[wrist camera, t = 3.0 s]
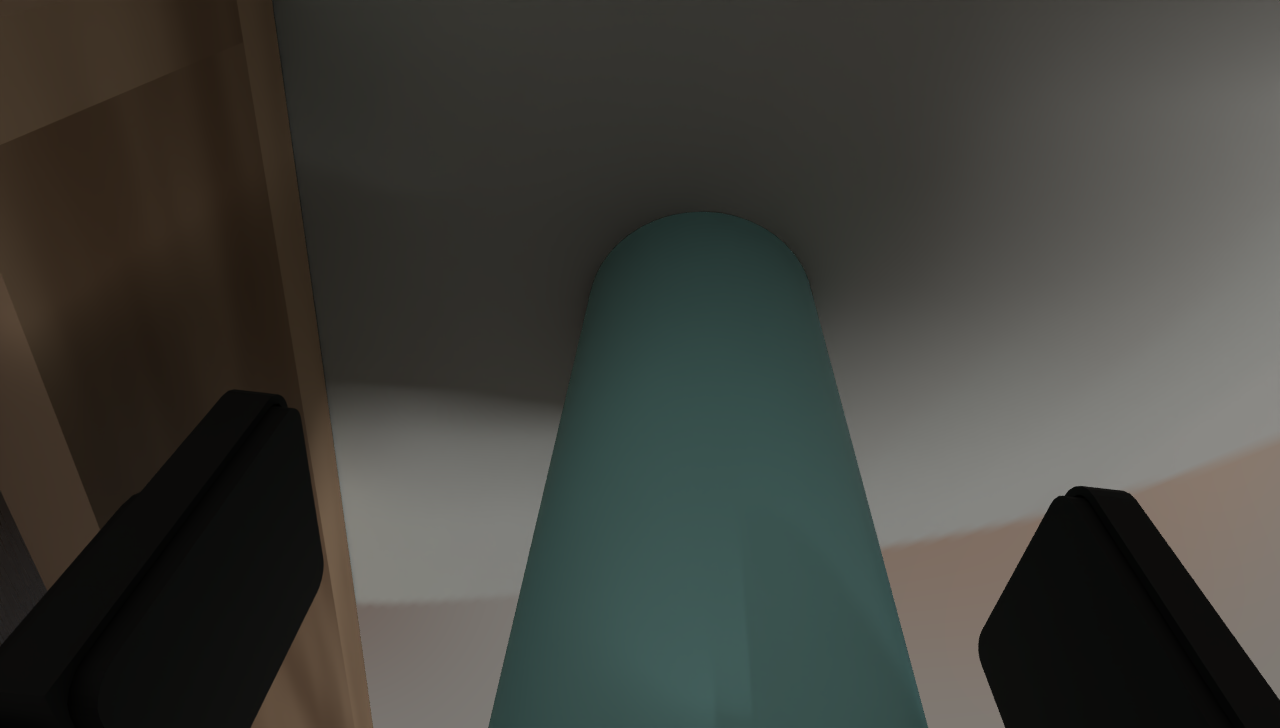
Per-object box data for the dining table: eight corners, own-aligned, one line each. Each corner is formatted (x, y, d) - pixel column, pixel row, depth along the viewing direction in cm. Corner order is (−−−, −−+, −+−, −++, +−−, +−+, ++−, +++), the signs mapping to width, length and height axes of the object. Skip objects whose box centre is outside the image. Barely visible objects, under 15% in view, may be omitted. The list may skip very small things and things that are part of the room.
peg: (838, 228, 13) (1105, 926, 4) (786, 418, 15) (900, 1123, 7) (598, 197, 13) (417, 846, 4) (580, 393, 15) (440, 1071, 7)
